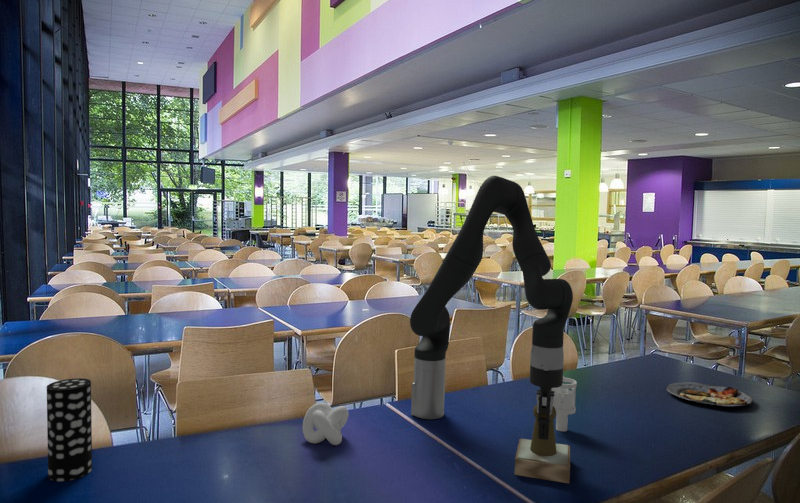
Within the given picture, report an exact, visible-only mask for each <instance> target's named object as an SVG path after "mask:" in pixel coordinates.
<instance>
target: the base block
mask: <svg viewBox="0 0 800 503" xmlns="http://www.w3.org/2000/svg"><path fill="white" fill-rule="evenodd" d="M531 441H532V439H527V438H519V440H518V444H517V449H516V452H515V457H514V458H515V459H514V475H515V476H520V477H527V478H533V479H539V480H545V481H552V482H558V483H565V484H570V480H571V479H570V478H571V446H570V445H568V444H562V443H556V454H555V455H553V456H541V455H537V454H535V453H533V452H532V451H531V450H530V447H531Z"/></svg>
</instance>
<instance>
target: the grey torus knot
mask: <svg viewBox="0 0 800 503" xmlns="http://www.w3.org/2000/svg"><path fill="white" fill-rule="evenodd" d="M349 413H350V412H349V410H348V408H347V407H346V406H341V405H340V406H337V407H335V408H334V409H333V408H332V407H331V406H330V405H329V404H328V403H327V402H326V403H325V402H317V403H314V404H313V405H311V406H310V407H309V408H308V409H307V411H306V413H305V415H304V417H303V421H302V433H303V436H304V438H305V440H306V442H308V443H311V444H315V445H316V444H319V443H321V442H323V441H324V440H325V439H327V441H328V442H329V443H330V444H331V445H333V446H339V445H340V444H341V443H342V441H343V435H342V431H341V430H342V428H343V427H344V426H345V425H346V423H347V421H348V419H349V415H350V414H349Z"/></svg>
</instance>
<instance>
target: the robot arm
mask: <svg viewBox="0 0 800 503" xmlns="http://www.w3.org/2000/svg"><path fill="white" fill-rule="evenodd" d="M494 213H496V214H500V215H504V217H505V218H506V219H507V220H508V222H509V224H510V225H511V227H512V233H513V235H512V251H513V254H514V257H515V259H516V261H517V263H518V266H519V268H520V270H521V272H522V278H523V279H522V280H523V285H524V293H525V299H526V301H527V302H528V304H529V305H530V307H532V308H533V309H534V310H539V311H540V310H541V311H543V310H545V311H546V310H547V313H546V314H545V315H544V316H542V317H540V318H538V319H536V320H534V321H533V324H532V334H531V335H532V336H531V337H532V338H531V348H530V355H529V356H530V358H529V359H530V360H529V362H530V363H529V383H530V384H532V385H534V386H536V387H539V388H540V389H536V401H537V402H536V404H537V412H538V420H537V421H538V423H539V433H538V437H539V439H544V440H548V437H549V423H550V415H551V414H552V407H553V402H554V391H552V388H558V387H560V386H562V384H564V382H563V375H564V366H565V365H564V363H565V360H564V359H565V356H564V331H565V330H564V329H565V327H566V324H567V320H568V317H569V314H570V311H571V309H572V305H573V301H574V300H573V299H574V298H573V297H574V293H573V289H572V286H571V284H570V283H569V282H568V281H567V280H566V279H563V278H545V279H544V278H543V277H544V276H546V275H547V274H548V273H549V272H550V270H551V269H552V263H551V260H550V258H549V256H548V254H547V252H546V250H545V248H544V246H543V245H542V242H541V240H540V238H539V236H538V234H537V231H536V228H535V225H534V223H533V219H532V214H531V211H530V209H529V205H528V201H527V198H526V195H525V192H524V189H523V187H522V186H521V185H520V184H519V183H517V182H515V181H513V180H511V179H507V178H505V177H502V176H498V175H491V176H489V177H487V178H486V179H484V181H483V182H482V184H480V186H479V188H478V191H477V193H476V194H475V198H474V199H473V202H472V205H471V206H470V210H469V212H468V213H467V216H466V218H465V220H464V222H463V224H462V226H461V228H460V229H459V231H458V234H457V236H456V238H455V239H454V241H453V243H452V244H451V245H450V248H449V250H448V252H447V253H446V255H445V257H444V259H443V261H442V263H441V265H440V266H439V268H438V270H437V272H436V273H435V275H434V277H433V279H432V281H431V283H430V284H429V286H428V288H427V289H426V291H425V293H424V294H423V295H422V296H421V298H420V300H419V301H418V302H417V303H416V305H415V307H414V308H413V310H412V312H411V314H410V317H409V318H410V319H409V323H410V328H411V329H410V330H411V331H412V332H413V334H415V335H417V336H419V337H421V339H420V341H419V342H418V344H417V345H416V346H415V348H414V356H413V357H414V362H413V366H414V367H413V369H414V370H413V382H412V383H411V397H410V398H411V402H410V403H411V408H410V414H411V416H414V417H416V418H418V419H419V418H420V419H424V420H437V419H438V420H439V419H441V418H443V417H444V415H445V395H446V393H445V390H446V354H447V351H448V349H449V344H450V332H451V317H450V312H449V310H448V308H447V307H446V305H447V304H448V303H449V301H451V299H452V298H453V297H454V296H455V295H456V294H457V293H459V291H461V290H462V288H463V287H465V285H466V284H468V283H469V281H470V280H471V278H472V277H473V275H474V274H475V272H476V270H477V268H478V267H479V265H480V264H481V261H482V259H483V255H484V233H485V228H486V226H487V224H488V221H489V220H490V218H491V216H492V215H493V214H494ZM542 413H544V414H547V418H541V414H542Z"/></svg>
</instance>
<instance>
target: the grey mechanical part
mask: <svg viewBox="0 0 800 503" xmlns="http://www.w3.org/2000/svg"><path fill="white" fill-rule="evenodd" d="M564 382H565V383H564ZM577 384H578V383H577V380H575V379H573V378H569V377H565V376H564V374H563V384H562V386H560V387H558V388H552V391H554V402H553V406H554V408H555V409H556V416H555V430H556V431H558V432H567V431H568V421H569V419H568V417H569V415H573V414H576V393H577V392H576V389H577ZM570 389H571V390H570Z"/></svg>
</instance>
